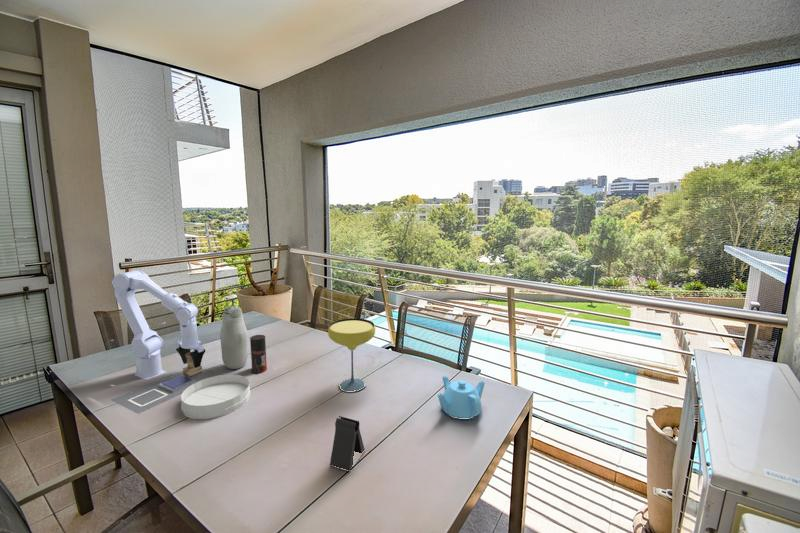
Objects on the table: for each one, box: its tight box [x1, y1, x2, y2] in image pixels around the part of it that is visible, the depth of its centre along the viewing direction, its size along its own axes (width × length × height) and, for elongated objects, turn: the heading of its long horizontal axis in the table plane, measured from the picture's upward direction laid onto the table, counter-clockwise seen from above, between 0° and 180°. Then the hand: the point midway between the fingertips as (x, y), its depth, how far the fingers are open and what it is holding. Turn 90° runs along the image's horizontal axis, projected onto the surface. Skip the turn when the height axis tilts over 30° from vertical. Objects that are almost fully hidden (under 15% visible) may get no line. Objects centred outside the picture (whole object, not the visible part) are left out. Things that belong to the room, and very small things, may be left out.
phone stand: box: [329, 415, 366, 470], centre depth 95 cm, size 9×6×12 cm, turn 158°
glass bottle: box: [219, 305, 249, 370], centre depth 148 cm, size 10×10×28 cm
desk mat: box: [111, 369, 219, 414], centre depth 132 cm, size 18×30×1 cm, turn 153°
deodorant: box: [249, 334, 268, 374], centre depth 146 cm, size 6×6×15 cm
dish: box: [180, 374, 251, 420], centre depth 123 cm, size 22×22×5 cm
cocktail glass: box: [327, 318, 376, 391], centre depth 133 cm, size 18×18×25 cm
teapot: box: [437, 375, 486, 418], centre depth 119 cm, size 15×15×11 cm
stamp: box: [182, 351, 203, 377], centre depth 142 cm, size 5×5×9 cm
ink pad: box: [159, 375, 196, 393], centre depth 133 cm, size 9×9×2 cm
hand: (192, 364), depth 142 cm, fingers open, 7 cm apart
